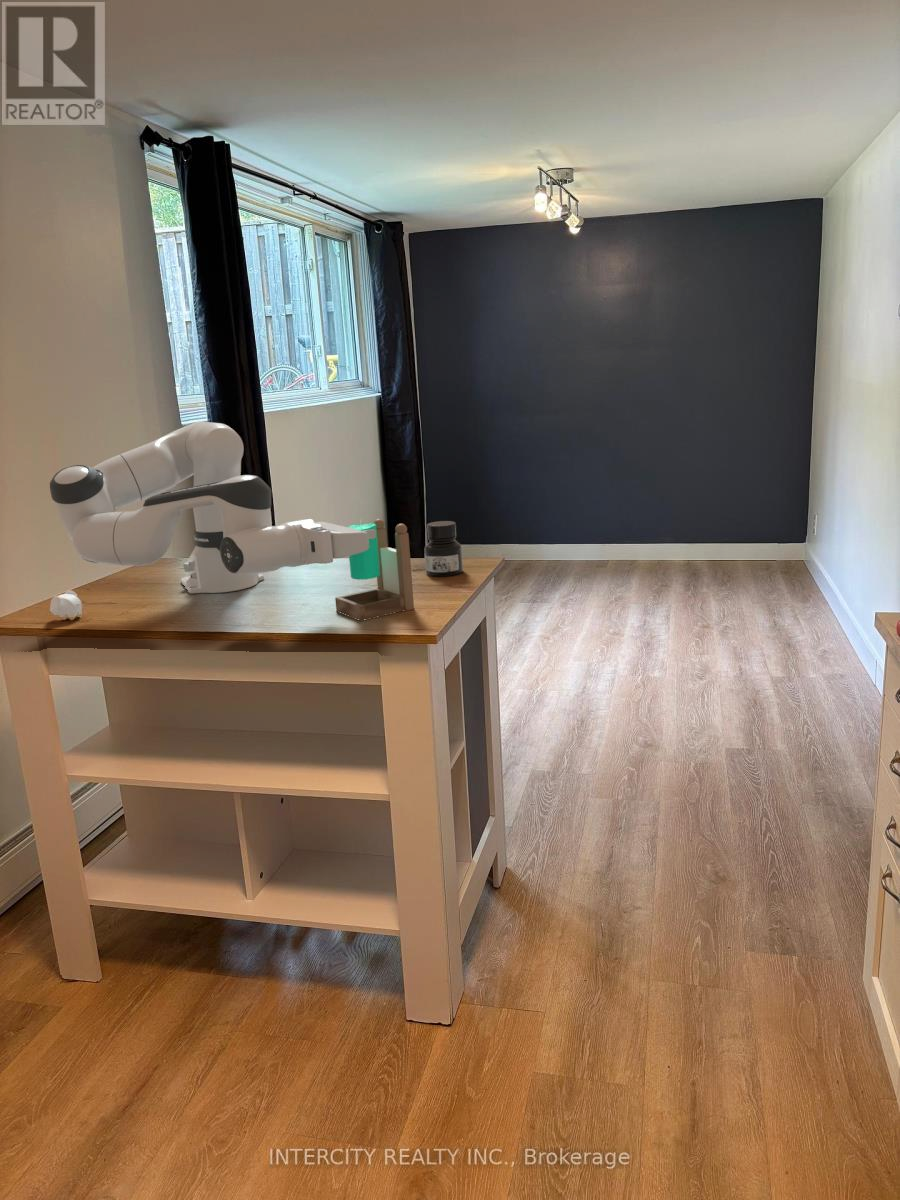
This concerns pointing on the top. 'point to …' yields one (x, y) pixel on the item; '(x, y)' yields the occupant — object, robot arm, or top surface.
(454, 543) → the ink bottle
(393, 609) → the shallow open wooden box
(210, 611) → the top surface
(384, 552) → the headboard
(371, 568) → the candle
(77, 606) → the elephant figurine
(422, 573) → the top surface
